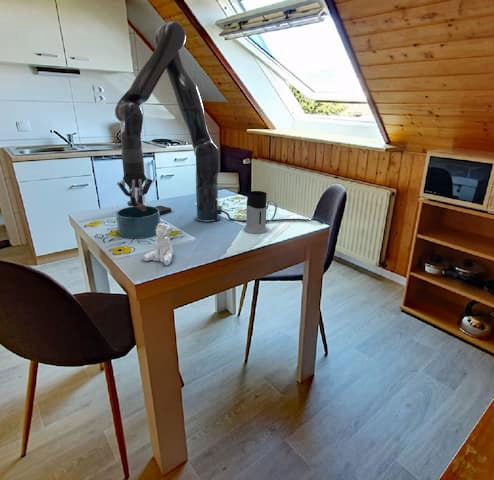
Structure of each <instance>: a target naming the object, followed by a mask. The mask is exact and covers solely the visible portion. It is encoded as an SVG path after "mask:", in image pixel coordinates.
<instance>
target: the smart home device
mask: <svg viewBox="0 0 494 480" xmlns="http://www.w3.org/2000/svg"><path fill="white" fill-rule="evenodd" d="M154 207H155V208H158V209H159V212H160V216H161V215H162V216H163V215H165V214H169V213H172V208H171V207H168V206H164V205H156V206H154Z"/></svg>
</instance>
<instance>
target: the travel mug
mask: <svg viewBox="0 0 494 480" xmlns="http://www.w3.org/2000/svg"><path fill="white" fill-rule="evenodd" d="M267 194H268V193H267V192H266V191H263V190H252V191H247V196H246V197H247V199H246V213H245V214H246V215H245V217H246V218H245V220H246V222H245V228H244V231H245V232H247V233H250V234H263V233H266V232H267V230H268V229H267V227H266V226H267V224H269V223H270V222H272V221H271V220H274V218H275V216H276V214H277V210H278V204H277V202H276V200H274V199H269V200H268V201H267V199H268V197H267V196H268V195H267ZM270 202H273V204H274V205H275V206H274V213H273V215H272V217H271V218H270V219H269V220H270V221H268V222H266V220H267V210H268V209H269V205H270Z"/></svg>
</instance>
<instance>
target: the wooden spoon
mask: <svg viewBox="0 0 494 480" xmlns="http://www.w3.org/2000/svg"><path fill="white" fill-rule="evenodd" d="M132 206H133V205H131V200H129V201H127V207H132ZM146 206H147V204H146V205H144V204H142V203H140V202H138V201H136V208H137V209H139V210H141V211H146Z"/></svg>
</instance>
